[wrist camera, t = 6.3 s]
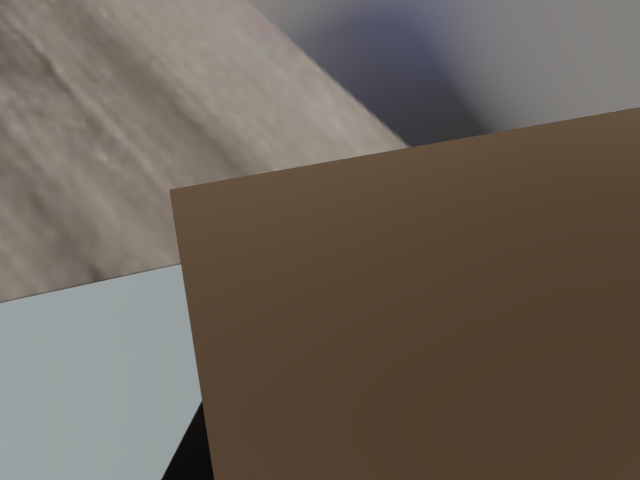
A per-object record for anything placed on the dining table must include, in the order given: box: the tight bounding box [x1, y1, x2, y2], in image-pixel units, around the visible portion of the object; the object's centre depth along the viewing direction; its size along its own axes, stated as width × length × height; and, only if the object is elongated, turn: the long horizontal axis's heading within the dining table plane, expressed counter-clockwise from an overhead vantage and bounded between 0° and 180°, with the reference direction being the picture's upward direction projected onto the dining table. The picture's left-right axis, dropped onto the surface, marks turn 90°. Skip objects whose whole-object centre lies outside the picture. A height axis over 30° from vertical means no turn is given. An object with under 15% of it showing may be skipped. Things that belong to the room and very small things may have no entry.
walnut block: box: [170, 107, 640, 480], centre depth 9 cm, size 5×5×12 cm
